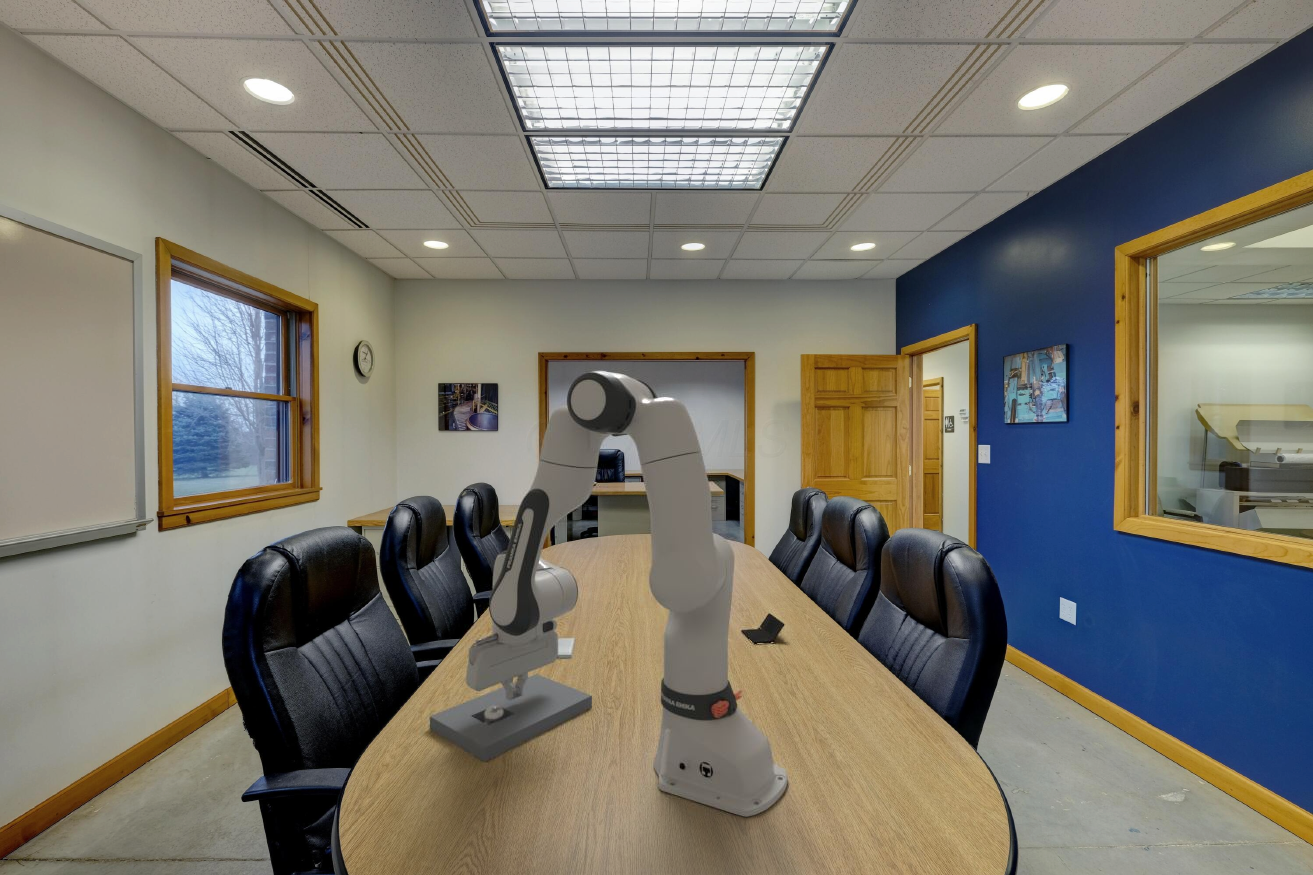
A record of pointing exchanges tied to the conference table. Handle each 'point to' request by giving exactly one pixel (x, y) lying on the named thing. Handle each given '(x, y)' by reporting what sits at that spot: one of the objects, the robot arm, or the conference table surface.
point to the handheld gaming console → (765, 630)
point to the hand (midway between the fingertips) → (514, 697)
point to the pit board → (509, 717)
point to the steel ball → (493, 714)
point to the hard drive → (565, 647)
